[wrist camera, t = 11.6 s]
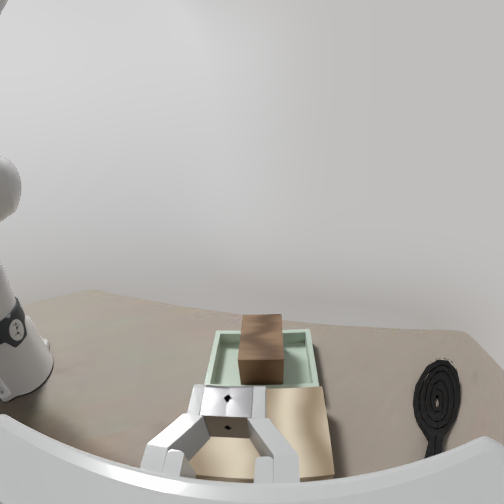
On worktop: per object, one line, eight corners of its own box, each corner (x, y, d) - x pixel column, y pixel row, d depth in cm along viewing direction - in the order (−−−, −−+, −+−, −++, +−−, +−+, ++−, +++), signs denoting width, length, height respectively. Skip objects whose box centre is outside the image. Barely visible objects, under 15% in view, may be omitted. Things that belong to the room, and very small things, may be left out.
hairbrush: (393, 500, 18) (423, 352, 37) (383, 507, 20) (416, 367, 39) (454, 505, 14) (466, 359, 33) (440, 512, 16) (458, 374, 35)
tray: (206, 399, 38) (203, 387, 36) (218, 343, 49) (216, 330, 48) (317, 399, 37) (319, 386, 35) (308, 341, 48) (309, 328, 47)
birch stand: (190, 485, 24) (179, 472, 22) (205, 407, 36) (199, 387, 34) (327, 487, 23) (334, 474, 21) (318, 407, 35) (322, 386, 33)
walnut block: (237, 359, 35) (243, 314, 45) (241, 391, 38) (246, 347, 47) (283, 359, 35) (281, 314, 44) (282, 391, 38) (281, 346, 47)
